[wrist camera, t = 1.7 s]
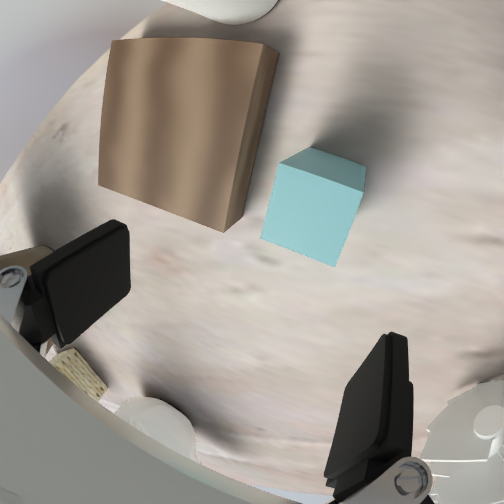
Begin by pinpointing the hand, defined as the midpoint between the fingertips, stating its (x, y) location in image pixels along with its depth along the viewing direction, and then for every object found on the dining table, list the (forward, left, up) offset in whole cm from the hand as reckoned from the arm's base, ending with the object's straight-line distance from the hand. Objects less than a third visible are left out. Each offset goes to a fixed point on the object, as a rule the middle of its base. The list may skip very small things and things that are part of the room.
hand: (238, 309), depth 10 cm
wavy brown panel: (+15, -2, -18) cm, 23 cm away
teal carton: (0, 0, -18) cm, 18 cm away
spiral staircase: (-35, +21, -19) cm, 45 cm away
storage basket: (+45, +67, -19) cm, 82 cm away
